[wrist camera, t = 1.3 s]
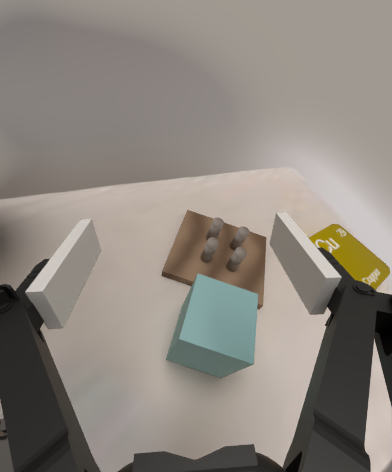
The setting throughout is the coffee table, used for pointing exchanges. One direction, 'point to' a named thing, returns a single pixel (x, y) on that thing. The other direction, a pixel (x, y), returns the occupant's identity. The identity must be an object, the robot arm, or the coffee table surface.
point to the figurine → (4, 450)
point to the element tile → (352, 255)
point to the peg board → (217, 254)
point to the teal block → (215, 328)
